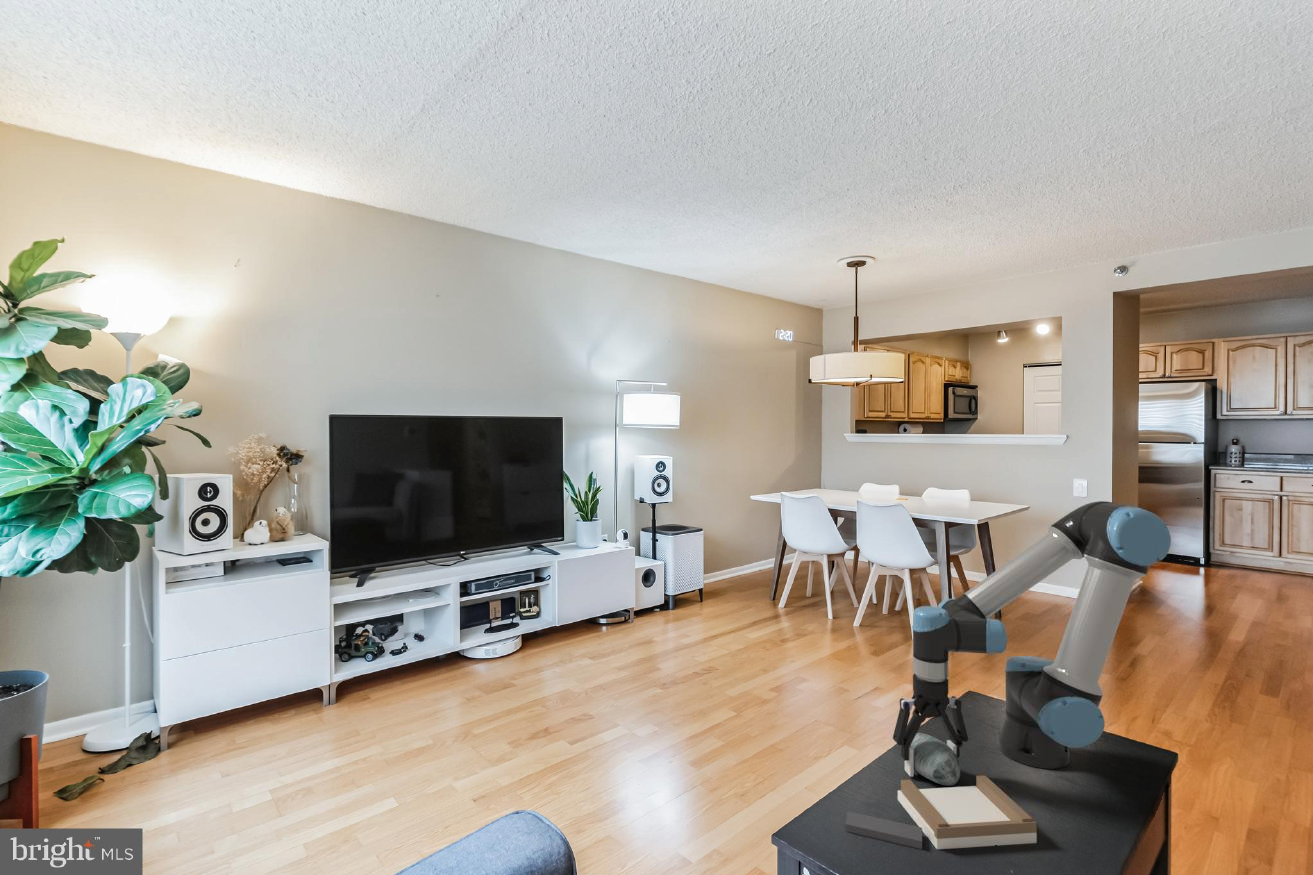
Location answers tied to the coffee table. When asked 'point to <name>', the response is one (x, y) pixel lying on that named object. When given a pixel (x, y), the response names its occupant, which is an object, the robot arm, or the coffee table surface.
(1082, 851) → the coffee table surface
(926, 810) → the shelf bay
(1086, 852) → the coffee table surface
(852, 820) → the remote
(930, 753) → the grey streaked oval piece
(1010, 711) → the robot arm
